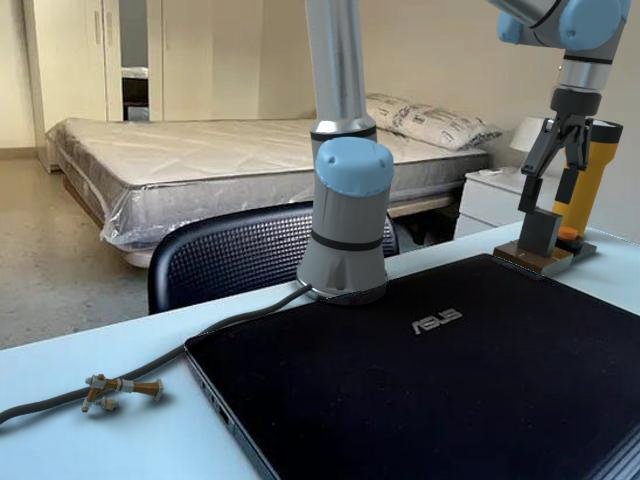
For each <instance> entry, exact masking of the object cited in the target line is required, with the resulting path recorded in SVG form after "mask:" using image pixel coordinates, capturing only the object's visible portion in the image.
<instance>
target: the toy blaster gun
mask: <svg viewBox="0 0 640 480" xmlns="http://www.w3.org/2000/svg"><path fill="white" fill-rule="evenodd" d="M113 379H114V378H106V376H105V374H104V373H98V374H96V375H95V374H92V375H91V376H88V377H86V378H85V379H84V383H85V384H86V385H89V386H90V387H92V388H91V390H90V392H89V394H88V396H87V397H84V398H85V399H84V400H83V404H82V407H81V413H84V414H87V413H88V411H89V410H90V408H91V407H92V405H93V406H96V408H98V407H100V410H101V411H102V412H103V410H110V411H113V410H114V408H118V407H119V404H120V403H119V401H116V400H115V397H113V398H106V396H104V395H103V397H102V399H100V400H99V399H97V400H95V399H96V397H98V396H100V395H101V394H103V393H104V392H107V391H108V390H107V389H110V390H114V392H117V393H118V392H120V393H129V394H132V393H138V394H143V395H147V396H151V397H153V399H154V401H157V402H159V401H160V399H161V396H162V395H163V391H164V389H165V385H164V384H163V380H162V378H161V377H160V378H156V380H155V381H152V382H151V381H150V382H136V381H135V382H134V380H132V381H128V380H124V379H122V381H120V379H118V378H117V380H113ZM99 388H100V389H101V390H99V391H98V389H99ZM106 390H107V391H106ZM97 391H98V392H97ZM94 400H95V401H94Z"/></svg>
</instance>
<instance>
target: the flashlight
mask: <svg viewBox="0 0 640 480" xmlns="http://www.w3.org/2000/svg"><path fill="white" fill-rule="evenodd" d="M623 130H624V125H623V124H620V123H617V122H612V121H608V120H601V119H594V122H593V126H592V129H591V138H590V148H589V159H588V165H587V169H586V171H585V172H583V171H579V175H578V178H577V182H576V185H575V188H574V191H573V194H572V197H571V201H570V204H568V205H567V204H564V203H561V202H558V201H555V200H554V202H553V206H552V209H551V212H553V213H556V214H559V215H562V216H563V218H562V222H561V225H560V227H569V228H573V229H575V230H577V231H578V235H579V236H581V237H582V238H584V235H585V231H586V228H587V226H588V222H589V218H590V216H591V213H592V209H593V206H594V203H595V200H596V197H597V194H598V191H599V188H600V185H601V182H602V178H603V175H604V171H605V169H606V167H607V165H609V164H610V163H611V162H612V161H613V160H614V158H615V156H616V152H617V149H618V146H619V143H620V140H621V137H622V134H623ZM563 154H564V155H565V157H566V152H565V147H564V148H563ZM582 159H583V158H582ZM564 168H568V167H567V161H566V160H565V162H564V166H563V169H564ZM568 169H569V168H568Z"/></svg>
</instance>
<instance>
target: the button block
mask: <svg viewBox="0 0 640 480" xmlns="http://www.w3.org/2000/svg"><path fill="white" fill-rule="evenodd" d="M554 247H557V248H559V249H562V250H565V251H567V252H570V253H572V254H574V255H573V258H572V261H571V264H570V266H572V265H573V264H575V263H578V262H580V261H583V260H584V259H586V258H589V257H592V256H593V255H595V254H596V252H597V249H598V246H597V245H594V244H592V243H590V242H586V241H585V239H584V237H581V236H579V235H578V234H577V237H576V240H568V239H564V238H561V237H559V236H557V239H556V242H555V246H554Z"/></svg>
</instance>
